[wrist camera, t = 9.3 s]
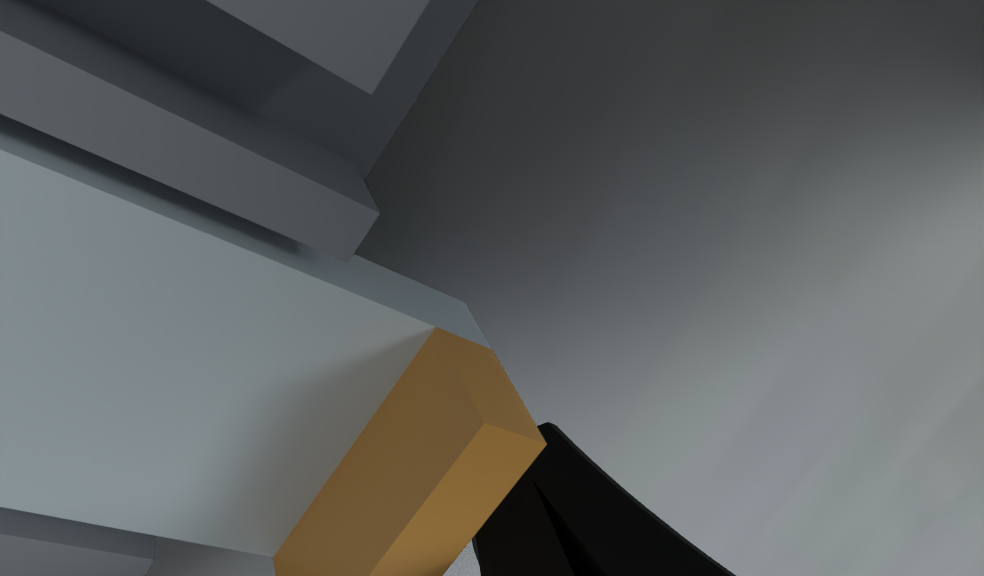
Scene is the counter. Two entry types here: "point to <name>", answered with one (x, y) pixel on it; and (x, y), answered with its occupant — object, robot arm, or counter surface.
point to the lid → (236, 379)
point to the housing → (217, 138)
